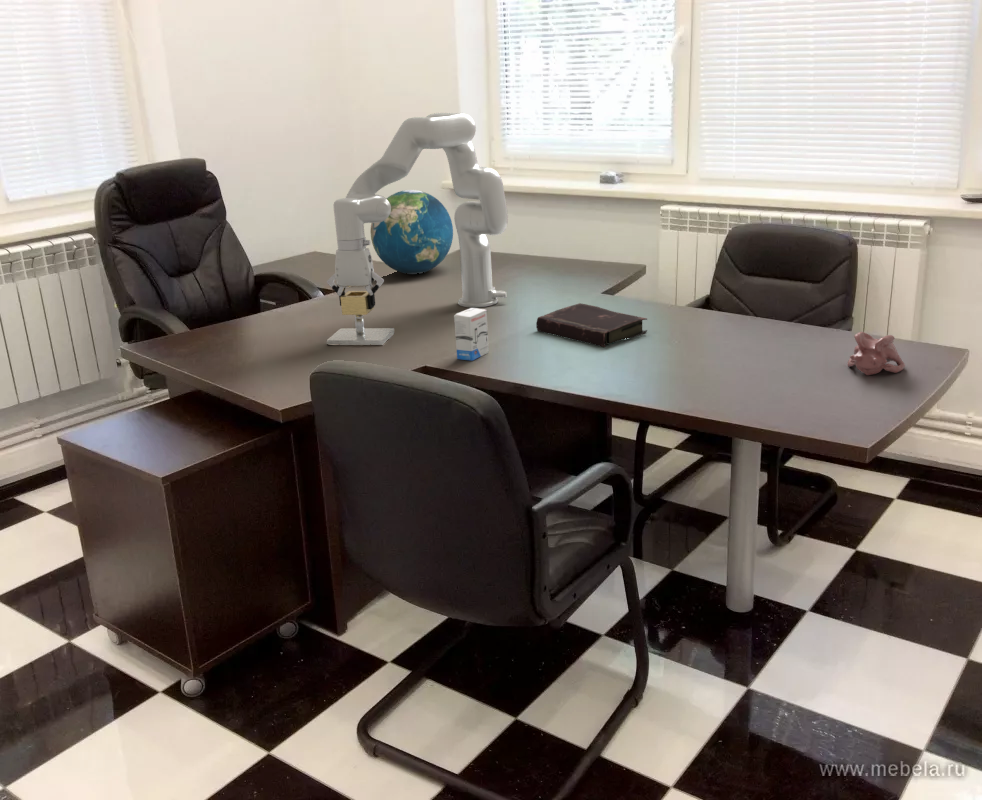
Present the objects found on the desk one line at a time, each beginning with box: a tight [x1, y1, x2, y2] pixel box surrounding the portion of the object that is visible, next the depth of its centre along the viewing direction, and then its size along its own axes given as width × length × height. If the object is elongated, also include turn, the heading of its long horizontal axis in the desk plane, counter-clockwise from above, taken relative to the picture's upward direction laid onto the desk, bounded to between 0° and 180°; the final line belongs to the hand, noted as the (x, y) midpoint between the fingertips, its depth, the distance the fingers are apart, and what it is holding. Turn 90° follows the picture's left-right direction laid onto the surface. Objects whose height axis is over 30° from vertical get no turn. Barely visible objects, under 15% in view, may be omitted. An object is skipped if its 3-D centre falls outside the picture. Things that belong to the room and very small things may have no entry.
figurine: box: [847, 331, 906, 376], centre depth 213 cm, size 12×10×15 cm
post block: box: [326, 315, 395, 346], centre depth 261 cm, size 16×12×8 cm
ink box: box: [453, 307, 490, 361], centre depth 240 cm, size 9×5×12 cm, turn 148°
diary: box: [535, 302, 648, 348], centre depth 257 cm, size 19×25×5 cm
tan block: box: [340, 290, 375, 316], centre depth 259 cm, size 7×7×5 cm
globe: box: [370, 189, 454, 275], centre depth 337 cm, size 30×30×30 cm
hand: (358, 307), depth 260 cm, fingers closed on tan block, 7 cm apart
